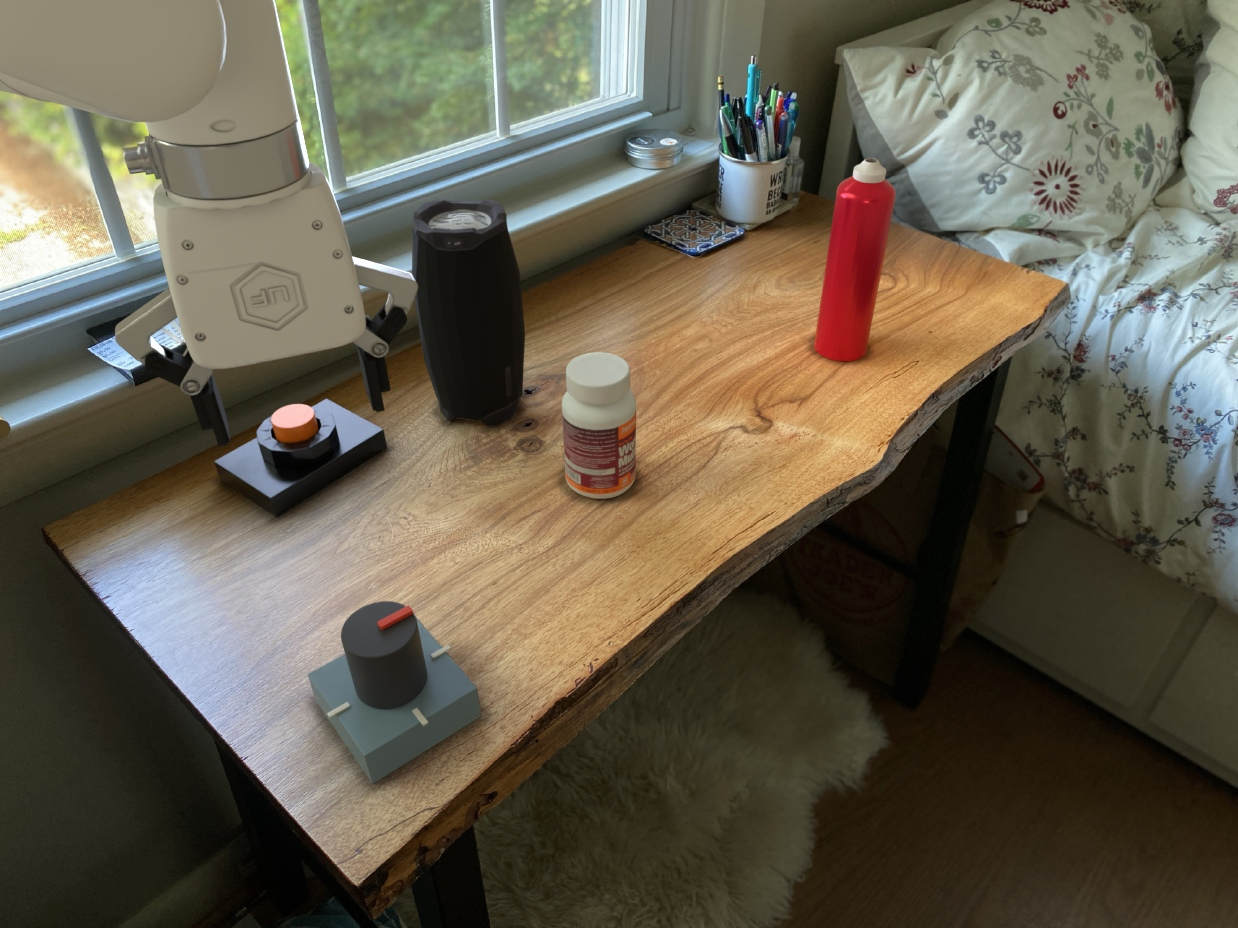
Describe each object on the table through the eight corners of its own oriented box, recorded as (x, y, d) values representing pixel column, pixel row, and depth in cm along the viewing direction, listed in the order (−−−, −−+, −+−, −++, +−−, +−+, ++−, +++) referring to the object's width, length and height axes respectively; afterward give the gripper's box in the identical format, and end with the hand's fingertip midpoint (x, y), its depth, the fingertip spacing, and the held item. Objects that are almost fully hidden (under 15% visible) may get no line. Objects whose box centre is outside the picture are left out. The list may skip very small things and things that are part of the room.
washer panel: (369, 792, 57) (360, 762, 55) (308, 701, 63) (298, 671, 61) (490, 716, 62) (485, 686, 60) (423, 638, 67) (417, 607, 65)
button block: (276, 518, 77) (265, 481, 75) (220, 481, 81) (207, 444, 79) (387, 448, 85) (380, 412, 82) (331, 417, 88) (322, 382, 86)
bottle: (803, 341, 99) (829, 155, 87) (844, 330, 101) (876, 146, 89) (834, 366, 95) (866, 175, 83) (877, 353, 97) (914, 165, 85)
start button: (292, 449, 79) (288, 433, 78) (266, 434, 80) (261, 417, 79) (327, 429, 81) (323, 413, 80) (301, 415, 83) (296, 398, 81)
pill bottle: (633, 503, 79) (635, 391, 72) (561, 500, 79) (555, 388, 72) (637, 458, 83) (638, 349, 76) (568, 455, 84) (564, 347, 77)
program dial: (376, 722, 58) (361, 666, 54) (342, 676, 61) (326, 620, 57) (440, 684, 60) (430, 628, 57) (405, 641, 63) (393, 586, 60)
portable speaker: (421, 396, 91) (389, 205, 79) (510, 372, 94) (493, 185, 82) (449, 443, 85) (420, 243, 73) (543, 416, 88) (531, 221, 76)
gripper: (51, 207, 45) (160, 483, 55) (408, 158, 50) (445, 418, 60) (59, 156, 50) (157, 415, 61) (381, 116, 55) (419, 361, 66)
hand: (301, 417), depth 61 cm, fingers open, 9 cm apart
